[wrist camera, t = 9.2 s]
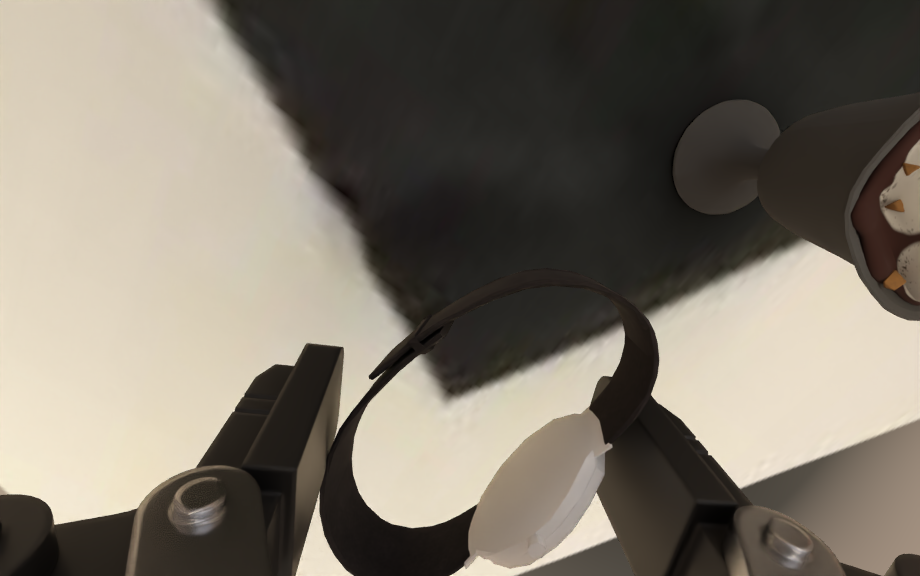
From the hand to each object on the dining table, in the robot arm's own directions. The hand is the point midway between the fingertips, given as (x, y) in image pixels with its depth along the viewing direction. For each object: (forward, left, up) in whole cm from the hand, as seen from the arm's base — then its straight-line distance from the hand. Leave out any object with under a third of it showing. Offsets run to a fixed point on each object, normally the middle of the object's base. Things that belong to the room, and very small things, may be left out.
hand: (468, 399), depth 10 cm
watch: (0, 0, -1) cm, 1 cm away
